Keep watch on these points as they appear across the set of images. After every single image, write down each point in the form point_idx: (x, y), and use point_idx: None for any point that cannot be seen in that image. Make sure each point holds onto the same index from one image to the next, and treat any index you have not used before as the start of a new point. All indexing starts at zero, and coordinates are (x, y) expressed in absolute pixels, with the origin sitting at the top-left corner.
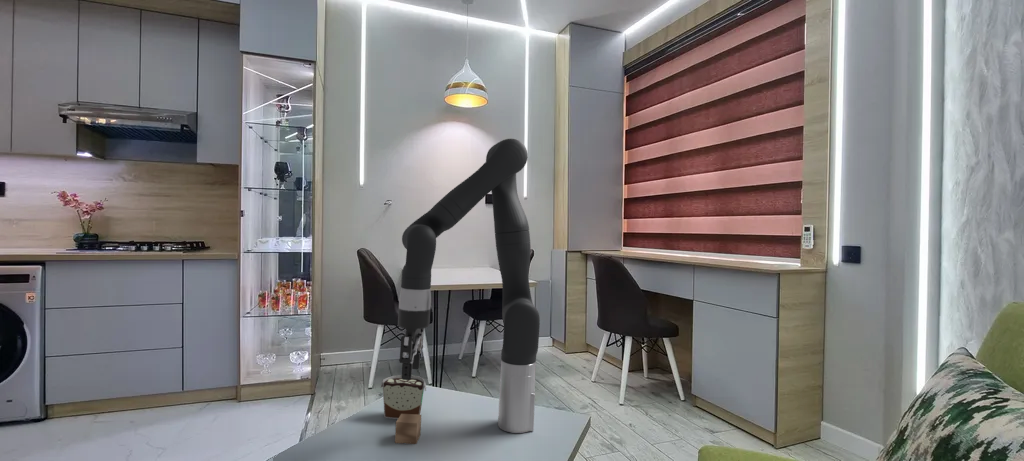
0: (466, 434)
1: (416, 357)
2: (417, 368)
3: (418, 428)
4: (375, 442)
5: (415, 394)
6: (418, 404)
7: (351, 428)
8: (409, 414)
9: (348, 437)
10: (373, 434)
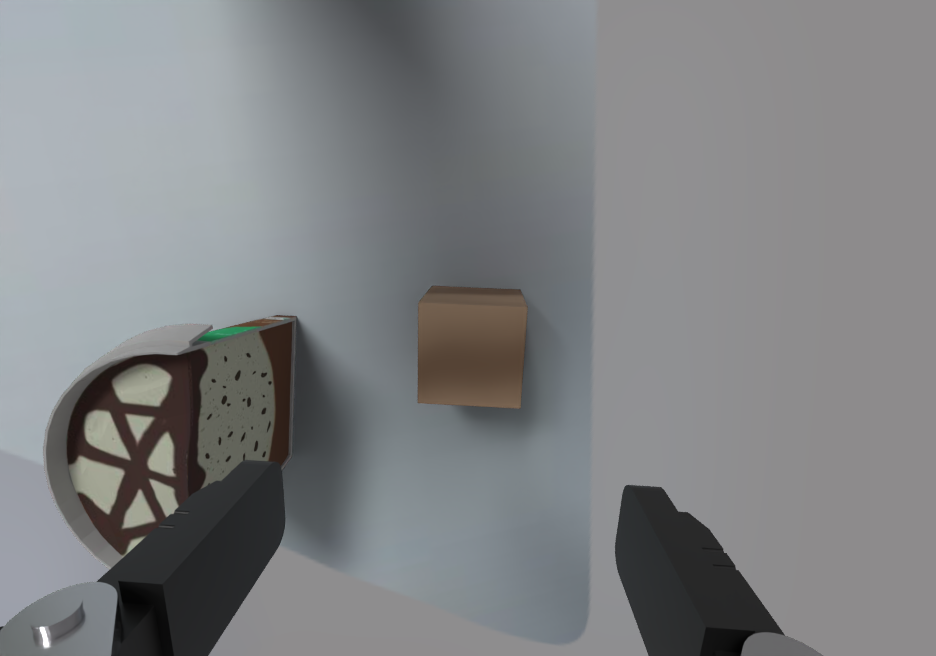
0: (409, 64)
1: (199, 583)
2: (278, 470)
3: (484, 297)
4: (512, 441)
5: (226, 376)
6: (256, 340)
7: (404, 544)
8: (422, 362)
9: (477, 535)
10: (446, 462)
